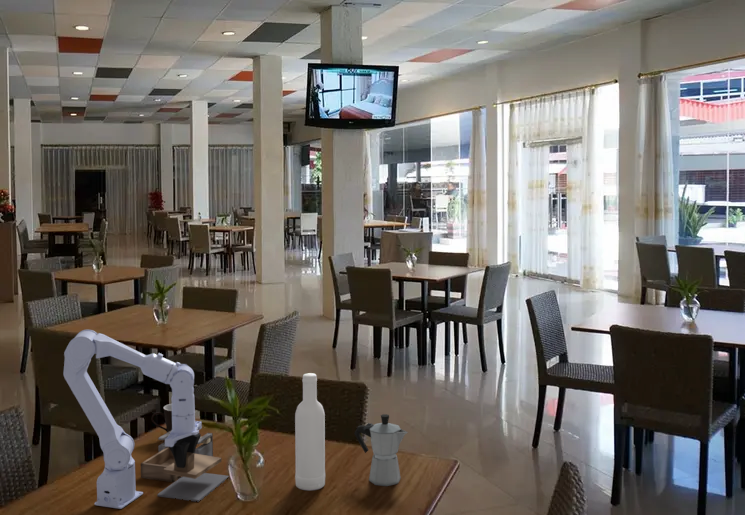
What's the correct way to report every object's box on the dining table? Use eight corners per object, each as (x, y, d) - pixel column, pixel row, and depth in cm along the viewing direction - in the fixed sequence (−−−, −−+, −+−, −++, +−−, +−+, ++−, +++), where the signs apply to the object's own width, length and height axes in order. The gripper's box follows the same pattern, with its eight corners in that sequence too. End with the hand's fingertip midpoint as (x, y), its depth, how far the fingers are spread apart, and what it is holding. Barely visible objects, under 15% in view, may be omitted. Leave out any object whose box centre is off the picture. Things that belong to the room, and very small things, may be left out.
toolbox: (178, 482, 195) (177, 456, 194) (136, 477, 199) (135, 451, 198) (213, 457, 213) (212, 433, 212) (174, 452, 217) (173, 429, 216)
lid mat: (199, 501, 183) (199, 499, 183) (157, 496, 187) (157, 494, 186) (229, 477, 198) (229, 475, 198) (190, 472, 202) (190, 470, 202)
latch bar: (206, 443, 209) (206, 439, 209) (167, 439, 213) (167, 435, 213) (210, 441, 211) (210, 437, 211) (171, 437, 215) (171, 433, 215)
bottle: (331, 483, 195) (330, 373, 192) (313, 493, 188) (312, 380, 185) (307, 476, 199) (307, 369, 196) (289, 486, 193) (288, 375, 190)
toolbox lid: (195, 478, 184) (196, 459, 184) (162, 473, 187) (163, 454, 186) (221, 461, 197) (222, 443, 197) (190, 456, 200) (191, 438, 199)
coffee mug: (196, 433, 234) (195, 403, 233) (186, 442, 226) (186, 411, 225) (161, 432, 235) (160, 401, 234) (150, 441, 227) (149, 410, 226)
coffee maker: (411, 475, 200) (411, 412, 198) (403, 488, 191) (404, 422, 190) (359, 470, 204) (359, 407, 202) (349, 482, 195) (349, 417, 194)
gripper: (182, 423, 178) (183, 476, 179) (211, 406, 192) (212, 456, 193) (156, 420, 180) (158, 473, 181) (187, 404, 194) (189, 453, 195)
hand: (184, 464), depth 187 cm, fingers closed on toolbox lid, 3 cm apart
